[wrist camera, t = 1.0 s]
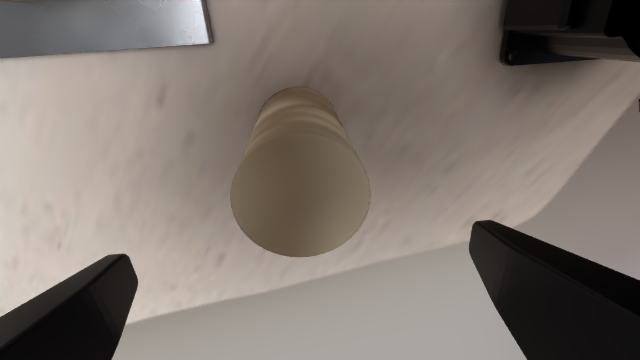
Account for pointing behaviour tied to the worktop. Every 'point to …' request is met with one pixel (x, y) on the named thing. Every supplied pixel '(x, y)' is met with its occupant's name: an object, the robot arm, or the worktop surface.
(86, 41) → the ring collar
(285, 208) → the piston
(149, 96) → the worktop surface
